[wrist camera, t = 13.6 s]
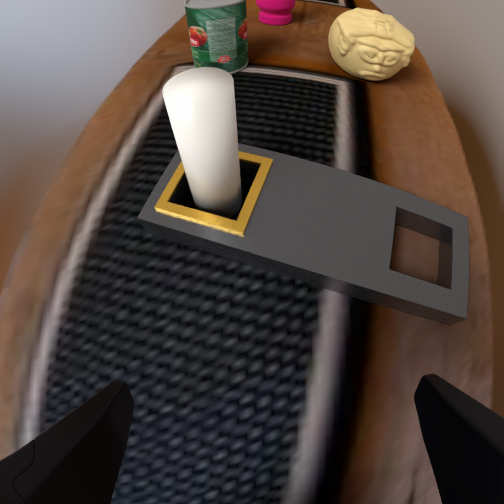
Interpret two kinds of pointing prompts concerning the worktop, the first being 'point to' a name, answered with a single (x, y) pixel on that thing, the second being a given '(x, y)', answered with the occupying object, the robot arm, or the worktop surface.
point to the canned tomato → (218, 33)
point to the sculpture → (370, 44)
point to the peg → (207, 137)
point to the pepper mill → (275, 11)
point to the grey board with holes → (321, 231)
